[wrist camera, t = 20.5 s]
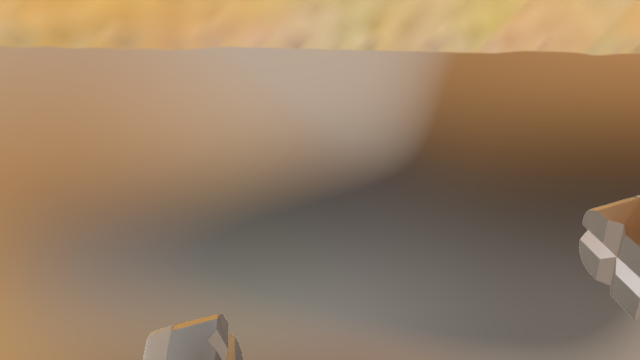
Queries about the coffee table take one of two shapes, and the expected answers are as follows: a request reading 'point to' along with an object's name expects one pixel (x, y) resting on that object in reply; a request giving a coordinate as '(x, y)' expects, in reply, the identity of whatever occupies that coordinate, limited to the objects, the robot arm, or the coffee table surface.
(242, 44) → the coffee table surface
